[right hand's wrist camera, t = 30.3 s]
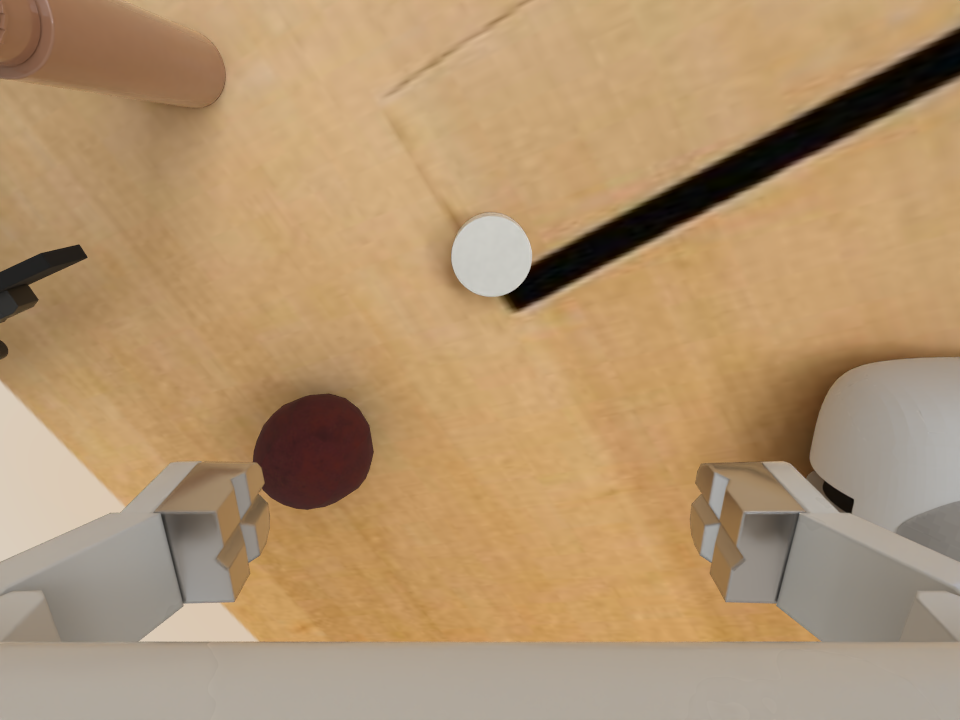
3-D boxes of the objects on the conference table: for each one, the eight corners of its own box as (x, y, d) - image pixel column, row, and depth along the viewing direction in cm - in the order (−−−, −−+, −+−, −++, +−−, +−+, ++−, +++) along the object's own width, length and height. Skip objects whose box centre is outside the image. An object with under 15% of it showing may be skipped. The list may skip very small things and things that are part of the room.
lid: (529, 211, 34) (532, 215, 32) (528, 288, 36) (531, 296, 34) (451, 212, 34) (449, 216, 32) (453, 289, 36) (452, 297, 34)
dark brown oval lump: (261, 443, 40) (217, 501, 33) (306, 357, 37) (268, 401, 31) (352, 487, 41) (327, 552, 34) (401, 407, 38) (385, 460, 32)
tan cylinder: (158, 105, 32) (-107, 66, 17) (149, 25, 30) (-149, -89, 16) (228, 111, 32) (22, 77, 18) (222, 32, 30) (-8, -76, 16)
